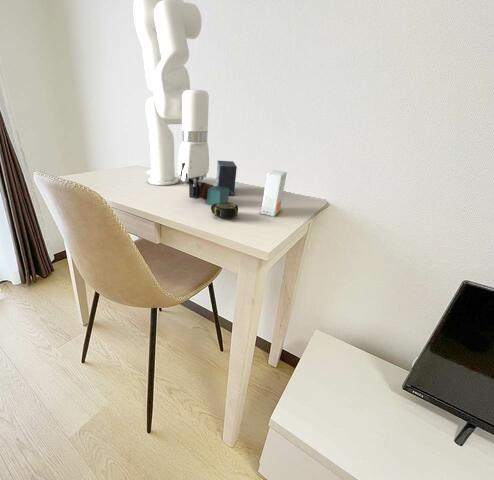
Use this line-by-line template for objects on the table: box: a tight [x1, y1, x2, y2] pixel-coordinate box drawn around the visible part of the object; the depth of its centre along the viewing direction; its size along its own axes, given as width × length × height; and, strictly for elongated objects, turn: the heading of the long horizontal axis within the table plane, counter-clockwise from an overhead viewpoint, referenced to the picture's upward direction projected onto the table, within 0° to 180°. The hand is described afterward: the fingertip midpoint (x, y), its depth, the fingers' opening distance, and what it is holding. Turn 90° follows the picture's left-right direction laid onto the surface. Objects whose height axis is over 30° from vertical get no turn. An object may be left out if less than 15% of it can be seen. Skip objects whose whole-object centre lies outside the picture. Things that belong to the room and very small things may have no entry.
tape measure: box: [210, 201, 239, 220], centre depth 73 cm, size 7×7×4 cm
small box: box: [215, 160, 238, 196], centre depth 95 cm, size 11×6×10 cm, turn 179°
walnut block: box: [199, 181, 215, 200], centre depth 87 cm, size 5×5×5 cm
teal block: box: [206, 185, 230, 206], centre depth 84 cm, size 5×5×5 cm
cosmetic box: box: [260, 169, 288, 217], centre depth 76 cm, size 6×4×12 cm
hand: (194, 197), depth 85 cm, fingers closed
